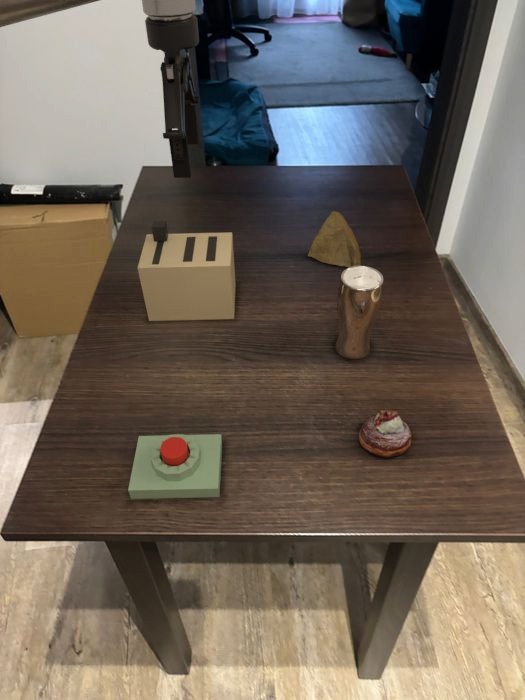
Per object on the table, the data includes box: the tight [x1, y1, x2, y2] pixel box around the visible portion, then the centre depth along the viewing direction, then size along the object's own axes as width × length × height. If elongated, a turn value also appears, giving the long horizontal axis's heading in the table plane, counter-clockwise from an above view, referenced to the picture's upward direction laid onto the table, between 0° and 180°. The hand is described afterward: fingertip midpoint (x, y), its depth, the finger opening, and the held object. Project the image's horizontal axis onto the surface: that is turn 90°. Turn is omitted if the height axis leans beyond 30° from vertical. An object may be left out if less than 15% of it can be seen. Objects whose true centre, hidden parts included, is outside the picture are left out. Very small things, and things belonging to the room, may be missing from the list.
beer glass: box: [334, 265, 384, 360], centre depth 87 cm, size 7×7×15 cm
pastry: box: [358, 409, 413, 459], centre depth 76 cm, size 8×8×5 cm
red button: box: [160, 437, 188, 466], centre depth 71 cm, size 4×4×2 cm
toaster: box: [137, 231, 236, 322], centre depth 98 cm, size 16×11×12 cm
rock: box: [307, 210, 362, 268], centre depth 109 cm, size 11×9×10 cm
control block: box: [127, 433, 223, 500], centre depth 73 cm, size 12×9×4 cm
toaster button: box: [150, 220, 169, 241], centre depth 96 cm, size 2×2×3 cm
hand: (187, 159), depth 90 cm, fingers open, 13 cm apart
